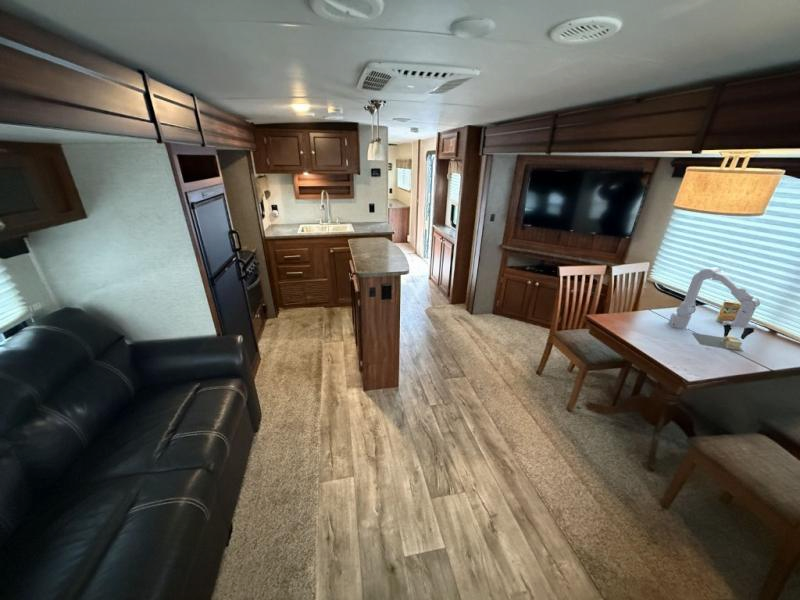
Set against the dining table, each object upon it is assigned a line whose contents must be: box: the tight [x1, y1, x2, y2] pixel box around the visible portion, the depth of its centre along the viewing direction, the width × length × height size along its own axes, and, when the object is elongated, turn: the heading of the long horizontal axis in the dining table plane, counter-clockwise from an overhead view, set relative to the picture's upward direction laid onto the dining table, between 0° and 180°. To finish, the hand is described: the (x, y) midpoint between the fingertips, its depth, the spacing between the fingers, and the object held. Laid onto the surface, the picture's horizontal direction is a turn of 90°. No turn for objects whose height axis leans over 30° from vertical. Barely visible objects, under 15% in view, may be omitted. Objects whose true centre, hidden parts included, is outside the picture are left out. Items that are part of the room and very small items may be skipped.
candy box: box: [715, 299, 741, 323], centre depth 212 cm, size 9×4×15 cm, turn 49°
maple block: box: [722, 334, 743, 349], centre depth 187 cm, size 9×5×4 cm, turn 154°
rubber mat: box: [691, 332, 745, 353], centre depth 191 cm, size 20×16×1 cm
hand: (733, 337), depth 185 cm, fingers open, 7 cm apart
